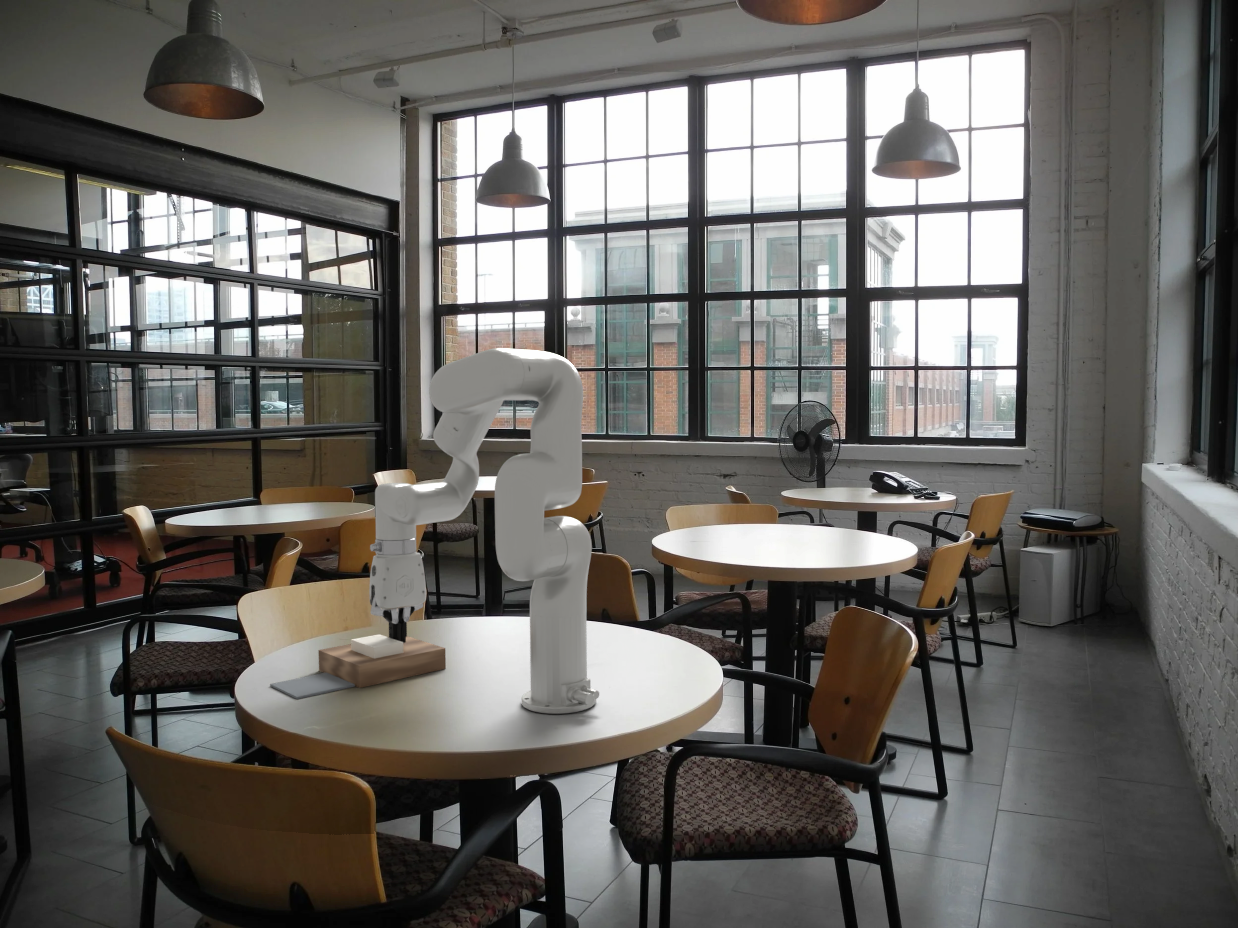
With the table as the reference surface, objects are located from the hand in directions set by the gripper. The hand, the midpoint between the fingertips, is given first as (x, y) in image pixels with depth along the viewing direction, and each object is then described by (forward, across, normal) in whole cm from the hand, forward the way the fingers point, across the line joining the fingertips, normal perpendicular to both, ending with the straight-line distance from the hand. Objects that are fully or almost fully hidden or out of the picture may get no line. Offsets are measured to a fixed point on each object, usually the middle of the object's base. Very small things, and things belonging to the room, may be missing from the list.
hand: (398, 641), depth 181 cm
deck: (+5, -3, +1) cm, 6 cm away
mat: (+5, -18, 0) cm, 18 cm away
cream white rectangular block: (+1, -4, 0) cm, 5 cm away
